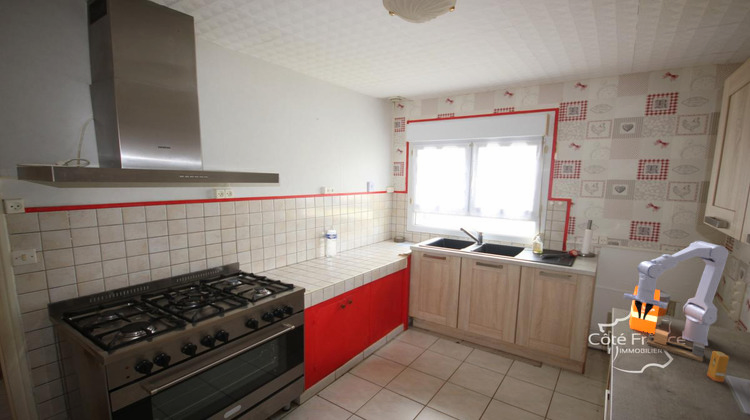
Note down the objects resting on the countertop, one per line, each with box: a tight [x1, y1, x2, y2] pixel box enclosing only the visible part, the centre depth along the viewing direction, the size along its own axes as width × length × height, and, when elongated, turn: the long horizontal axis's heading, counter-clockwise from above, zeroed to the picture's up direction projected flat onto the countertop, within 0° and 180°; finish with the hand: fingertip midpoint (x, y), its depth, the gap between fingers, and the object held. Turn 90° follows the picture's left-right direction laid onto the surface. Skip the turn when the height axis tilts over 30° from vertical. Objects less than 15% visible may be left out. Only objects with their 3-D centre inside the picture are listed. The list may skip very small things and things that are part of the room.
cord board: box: [646, 333, 706, 363], centre depth 135 cm, size 9×17×5 cm, turn 46°
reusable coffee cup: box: [655, 288, 671, 326], centre depth 158 cm, size 13×13×15 cm
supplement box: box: [706, 350, 730, 383], centre depth 116 cm, size 3×3×10 cm
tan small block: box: [653, 328, 669, 345], centre depth 137 cm, size 5×4×4 cm
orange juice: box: [628, 285, 661, 335], centre depth 150 cm, size 8×9×20 cm
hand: (641, 318), depth 141 cm, fingers closed
